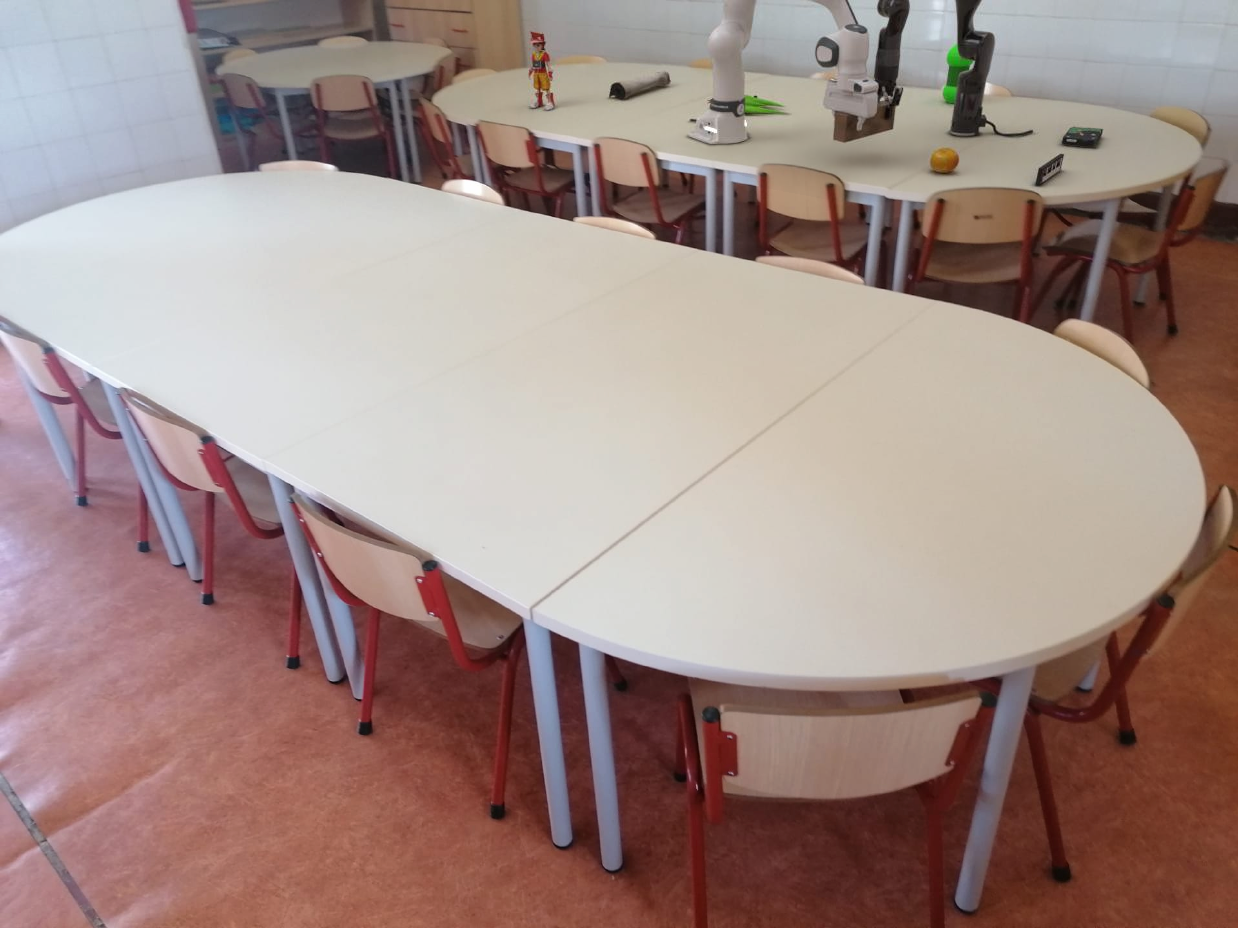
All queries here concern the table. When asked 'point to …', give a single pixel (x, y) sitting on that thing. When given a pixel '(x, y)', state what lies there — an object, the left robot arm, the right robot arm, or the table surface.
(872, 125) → the bar
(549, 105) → the toy
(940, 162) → the fruit
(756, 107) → the toy
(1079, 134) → the disk drive
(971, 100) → the right robot arm
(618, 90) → the rolled mat
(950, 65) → the green tall rounded piece
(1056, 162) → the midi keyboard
